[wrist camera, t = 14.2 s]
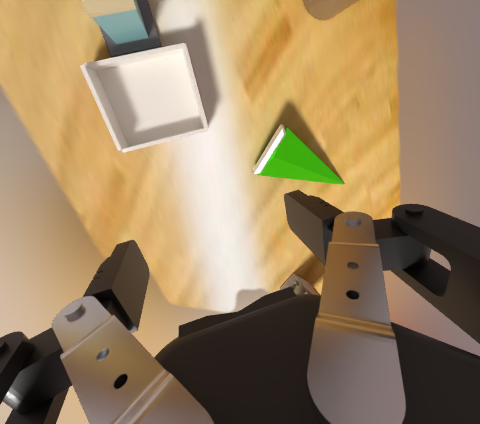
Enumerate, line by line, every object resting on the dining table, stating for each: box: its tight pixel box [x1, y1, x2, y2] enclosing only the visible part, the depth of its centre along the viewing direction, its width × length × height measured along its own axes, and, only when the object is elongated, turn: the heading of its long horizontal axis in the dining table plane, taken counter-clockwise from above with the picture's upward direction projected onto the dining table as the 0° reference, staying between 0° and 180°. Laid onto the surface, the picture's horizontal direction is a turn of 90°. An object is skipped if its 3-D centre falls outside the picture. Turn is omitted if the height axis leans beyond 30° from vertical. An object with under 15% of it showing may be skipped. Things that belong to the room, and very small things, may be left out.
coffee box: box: [280, 273, 320, 295], centre depth 58 cm, size 9×6×16 cm
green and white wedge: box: [252, 124, 345, 184], centre depth 51 cm, size 11×5×25 cm
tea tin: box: [82, 0, 149, 44], centre depth 29 cm, size 5×5×12 cm
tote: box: [80, 43, 208, 153], centre depth 37 cm, size 15×13×6 cm
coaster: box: [99, 0, 161, 57], centre depth 35 cm, size 8×8×1 cm
